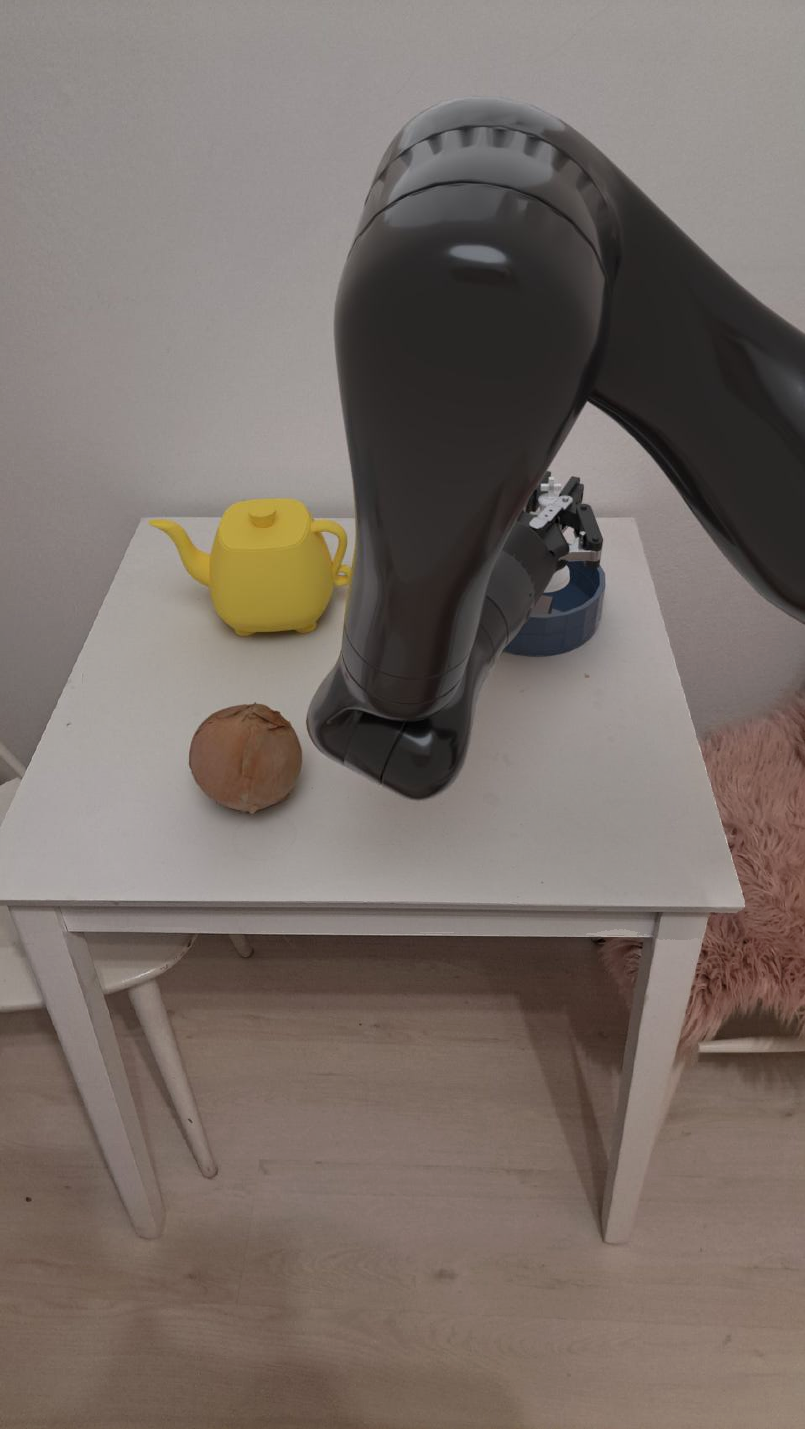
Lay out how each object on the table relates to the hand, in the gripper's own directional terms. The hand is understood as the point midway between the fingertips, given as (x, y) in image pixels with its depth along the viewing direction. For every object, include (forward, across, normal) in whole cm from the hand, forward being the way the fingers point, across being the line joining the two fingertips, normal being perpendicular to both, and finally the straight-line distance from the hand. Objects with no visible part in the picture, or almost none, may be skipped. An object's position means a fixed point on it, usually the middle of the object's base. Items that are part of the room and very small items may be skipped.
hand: (560, 483), depth 81 cm
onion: (-28, +17, +20) cm, 38 cm away
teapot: (-5, +30, +20) cm, 36 cm away
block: (+3, +2, +19) cm, 19 cm away
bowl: (+6, +3, +20) cm, 21 cm away
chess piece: (-3, 0, +8) cm, 9 cm away
